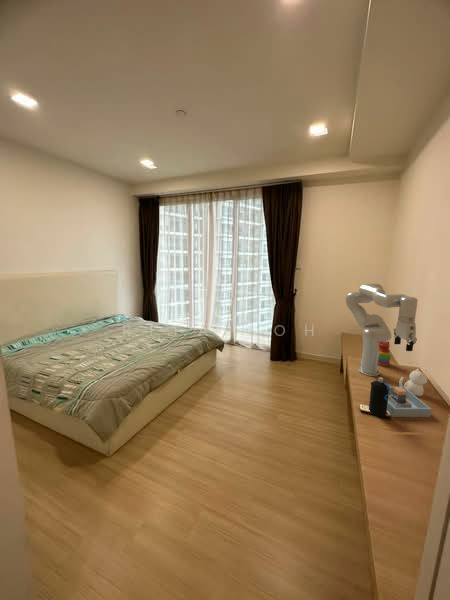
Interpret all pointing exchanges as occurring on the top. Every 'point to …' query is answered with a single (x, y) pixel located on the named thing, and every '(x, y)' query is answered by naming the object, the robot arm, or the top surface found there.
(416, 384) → the cat figurine
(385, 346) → the stacking bear
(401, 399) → the block
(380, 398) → the aerosol can
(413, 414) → the walled box
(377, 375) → the robot arm
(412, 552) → the top surface
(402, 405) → the inlet
